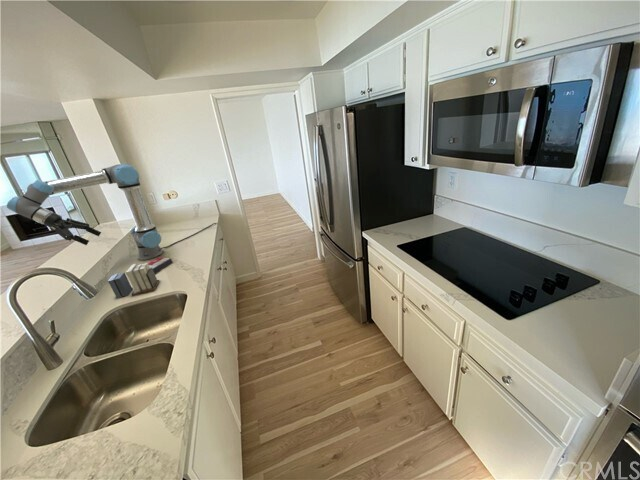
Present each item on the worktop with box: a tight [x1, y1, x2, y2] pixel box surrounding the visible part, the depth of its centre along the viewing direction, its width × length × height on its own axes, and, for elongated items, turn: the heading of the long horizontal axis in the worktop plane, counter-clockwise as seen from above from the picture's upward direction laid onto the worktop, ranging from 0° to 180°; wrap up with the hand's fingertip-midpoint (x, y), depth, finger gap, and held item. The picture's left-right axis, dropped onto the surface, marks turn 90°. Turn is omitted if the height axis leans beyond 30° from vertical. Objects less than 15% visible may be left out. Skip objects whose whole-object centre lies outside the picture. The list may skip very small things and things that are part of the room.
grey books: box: [107, 272, 133, 299], centre depth 145 cm, size 7×5×11 cm
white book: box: [125, 263, 141, 292], centre depth 146 cm, size 9×2×13 cm, turn 16°
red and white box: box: [147, 257, 173, 275], centre depth 172 cm, size 11×4×15 cm
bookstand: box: [131, 262, 160, 297], centre depth 147 cm, size 11×11×14 cm
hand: (94, 238), depth 147 cm, fingers open, 13 cm apart
